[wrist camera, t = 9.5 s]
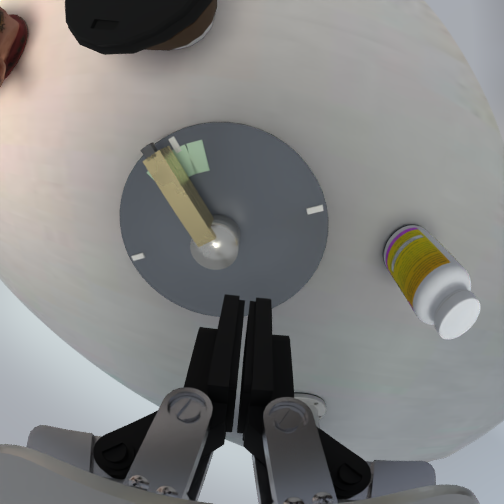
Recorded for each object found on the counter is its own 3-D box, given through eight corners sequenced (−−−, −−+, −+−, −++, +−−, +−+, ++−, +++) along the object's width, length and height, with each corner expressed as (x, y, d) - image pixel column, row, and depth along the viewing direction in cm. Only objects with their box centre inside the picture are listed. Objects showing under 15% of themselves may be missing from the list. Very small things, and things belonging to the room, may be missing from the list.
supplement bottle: (372, 265, 31) (415, 344, 20) (397, 215, 28) (459, 280, 17) (413, 278, 32) (459, 349, 21) (437, 233, 29) (499, 295, 18)
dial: (339, 288, 33) (341, 295, 32) (172, 323, 37) (169, 330, 35) (297, 95, 23) (298, 94, 22) (95, 167, 27) (89, 170, 25)
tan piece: (248, 243, 29) (246, 261, 26) (211, 260, 30) (205, 279, 27) (179, 128, 23) (166, 132, 20) (141, 153, 25) (125, 161, 21)
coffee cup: (210, 84, 23) (170, 67, 12) (114, 59, 21) (37, 46, 10) (257, -8, 18) (252, -72, 7) (157, -28, 16) (105, -77, 6)
